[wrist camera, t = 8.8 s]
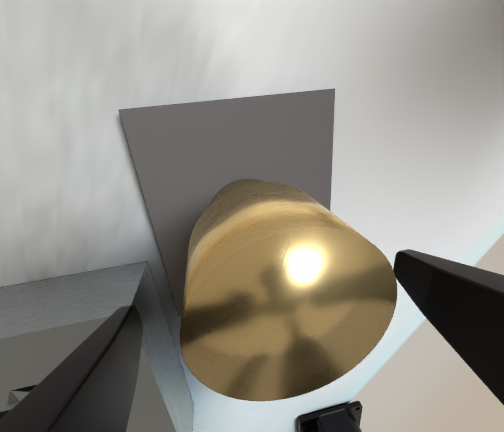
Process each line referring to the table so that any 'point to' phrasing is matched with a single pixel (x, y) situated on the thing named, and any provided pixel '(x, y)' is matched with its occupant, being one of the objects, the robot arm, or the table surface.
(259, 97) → the rubber mat
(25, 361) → the housing
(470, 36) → the table surface
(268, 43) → the table surface
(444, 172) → the table surface
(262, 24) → the table surface
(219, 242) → the end cover
